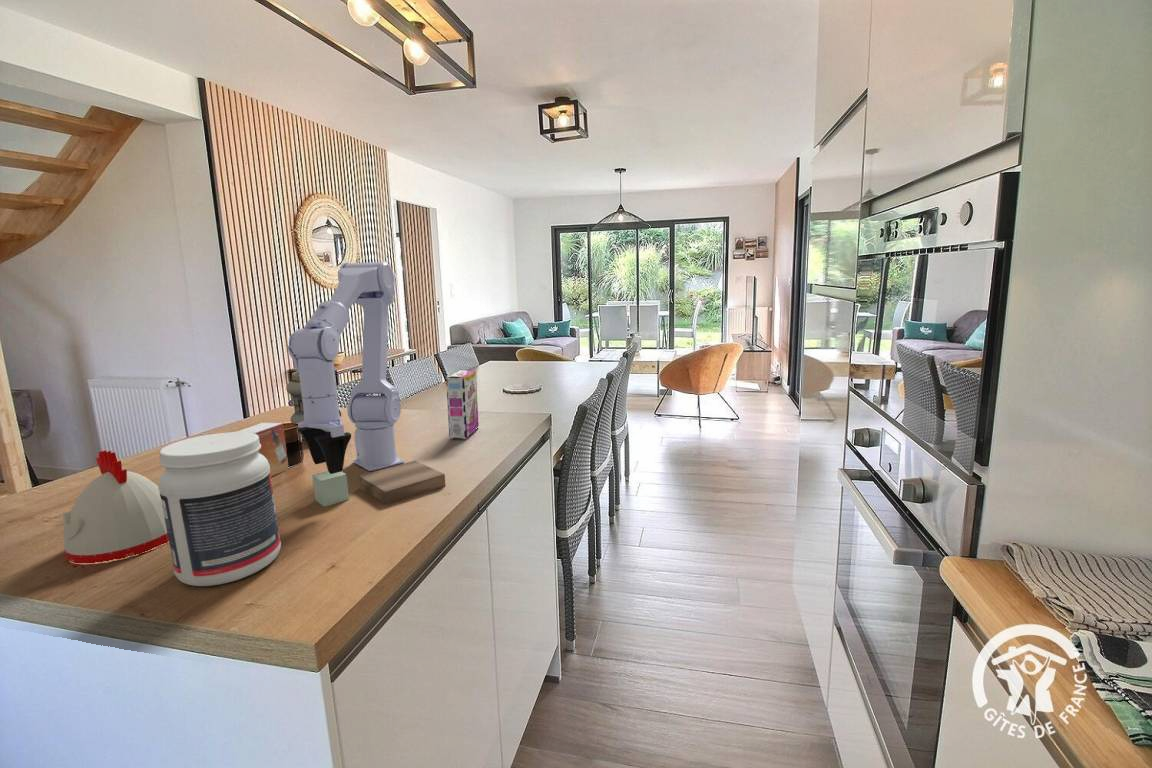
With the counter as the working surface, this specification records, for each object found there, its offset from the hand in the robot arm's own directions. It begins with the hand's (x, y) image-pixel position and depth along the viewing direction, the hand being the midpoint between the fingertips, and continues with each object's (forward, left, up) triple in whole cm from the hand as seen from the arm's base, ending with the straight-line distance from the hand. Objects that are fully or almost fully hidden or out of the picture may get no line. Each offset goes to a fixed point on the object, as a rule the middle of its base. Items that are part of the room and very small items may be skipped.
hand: (328, 467), depth 97 cm
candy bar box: (-19, +41, -7) cm, 46 cm away
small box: (-25, -5, -7) cm, 26 cm away
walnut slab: (+4, +12, -7) cm, 14 cm away
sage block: (0, 0, -6) cm, 6 cm away
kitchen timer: (-7, -29, -7) cm, 31 cm away
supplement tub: (+14, -19, -7) cm, 24 cm away
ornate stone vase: (-46, +13, -7) cm, 48 cm away
